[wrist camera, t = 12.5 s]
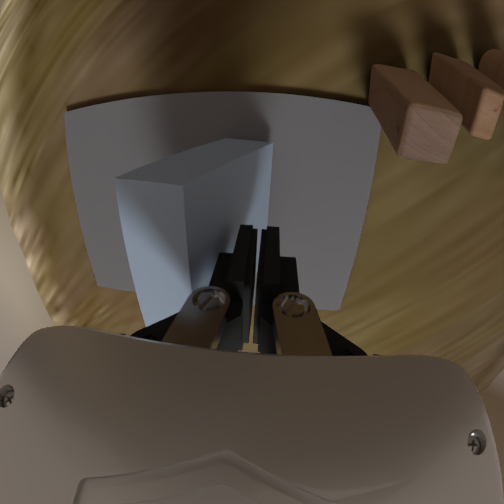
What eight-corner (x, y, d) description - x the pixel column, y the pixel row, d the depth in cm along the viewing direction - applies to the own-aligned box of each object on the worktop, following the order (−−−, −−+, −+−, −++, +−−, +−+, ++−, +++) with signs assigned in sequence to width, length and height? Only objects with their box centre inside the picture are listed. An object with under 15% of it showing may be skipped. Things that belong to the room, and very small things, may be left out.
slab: (225, 138, 16) (113, 177, 8) (273, 142, 15) (182, 185, 8) (224, 250, 20) (149, 336, 13) (264, 260, 19) (201, 359, 12)
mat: (67, 111, 15) (63, 112, 15) (380, 109, 14) (383, 109, 14) (100, 283, 23) (98, 286, 23) (338, 306, 23) (339, 310, 22)
